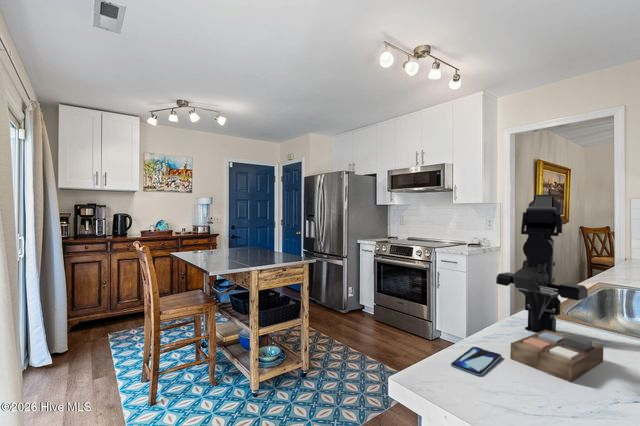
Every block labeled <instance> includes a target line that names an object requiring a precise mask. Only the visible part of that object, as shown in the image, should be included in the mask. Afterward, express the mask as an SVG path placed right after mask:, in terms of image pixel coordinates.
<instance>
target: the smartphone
mask: <svg viewBox="0 0 640 426" xmlns="http://www.w3.org/2000/svg"><path fill="white" fill-rule="evenodd" d="M502 358H503V355H501V354H500V353H498V352H494V351H491V350H489V349H484V348H482V347H479V346H471V347H470V348H469V349H467V350H466V351H465V352H463V353H462V354H461V355H459V356H458V357H457V358H456V359H454V360H453V361H452V362H450V367H451V368H455V369H458V370H460V371H462V372H465V373H468V374H470V375H473V376H476V377H480V378H481V377H483V376H485V374H486V373H487V372H488V371H489V370H491V369H492V368H493V367H494V366H495V365H496V364H498V362H500V361H501V360H502Z"/></svg>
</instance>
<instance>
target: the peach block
mask: <svg viewBox="0 0 640 426" xmlns="http://www.w3.org/2000/svg"><path fill="white" fill-rule="evenodd" d="M523 343H524V344H527V345H530V346H533V347H536V348H539V349H541V350H545V349H547V348H549V347H550V344H549V343H546V342H543V341H540V340H537V339H534V338H529V339H527V340H524V341H523Z"/></svg>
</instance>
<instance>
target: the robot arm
mask: <svg viewBox="0 0 640 426" xmlns="http://www.w3.org/2000/svg"><path fill="white" fill-rule="evenodd" d="M562 233H563V217H562V204H561V203H560V202H559V201H557V200H556V199H555V195H552V194H536V195H534V196H533V200H532V201H530V202H529V203H528V207H526V209H525V211H523V212H522V220H521V229H520V235H526V236H527V237H526V240H525V242H524V243H523V246H522V252H523V254H524V255H525V260H523V262H522V265H521V266H522V267H521V268H519V269H518V270H517V271H516V272H515V273H513V272H508V271H507V272H502V273H498V274H497V275H496V279H495V280H496V281H495V282H496V283H495V284H497V285H501V286H505V287H508V286H510V284H513V285H514V287H515V289H516V288H517V291H518V292H519V293H522V294H523V295H524V300H525V301H524V305H525V306H524V310H525V311H527V326H525V327H524V329H525V330H528V331H532V332H534V333H538V332H541V331H544V330H548V331H552V332H555V333H557V319H556V318H555V316H557V317H558V316H561V303H562V302H561V300H560V299H559V297H561V298H563V299H567V300H573V301H581V300H585V299H587V298H588V296H589V295H588V292H589V291H588V289H587V287H586V286H585V285H583V284H576V283H572V282H571V283H570V282H565V283H560V284H556V283H555V280H556V279H555V277H553V275H554V273H553V272H554V267H555V266H556V262H555V261H554V246H555V240H554V239H553V237H559V234H562Z"/></svg>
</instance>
